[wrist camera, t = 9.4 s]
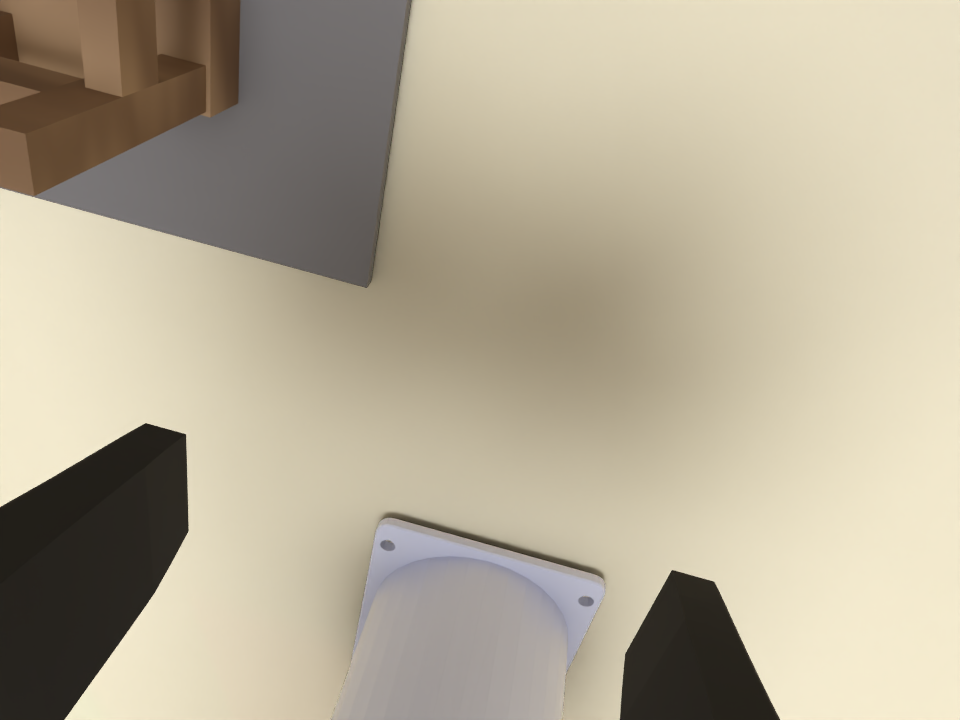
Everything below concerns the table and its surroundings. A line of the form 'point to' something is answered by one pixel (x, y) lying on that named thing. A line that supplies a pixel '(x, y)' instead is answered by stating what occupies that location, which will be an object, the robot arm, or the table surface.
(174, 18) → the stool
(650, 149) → the table surface
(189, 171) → the mat
